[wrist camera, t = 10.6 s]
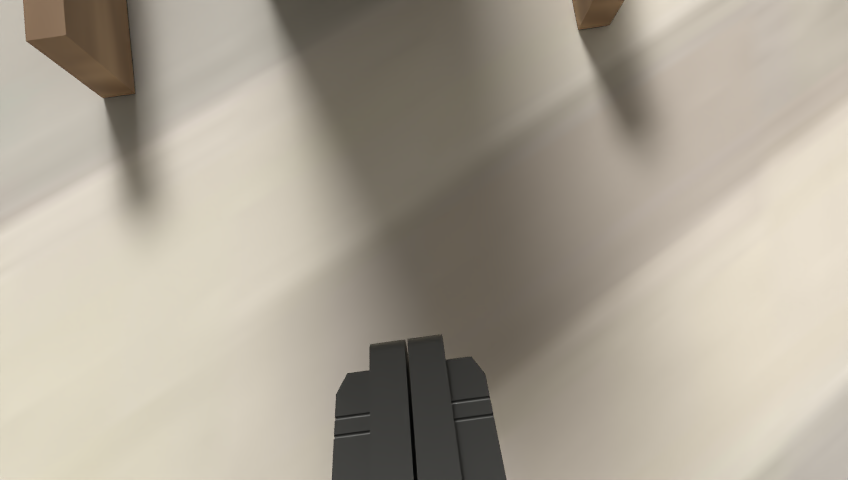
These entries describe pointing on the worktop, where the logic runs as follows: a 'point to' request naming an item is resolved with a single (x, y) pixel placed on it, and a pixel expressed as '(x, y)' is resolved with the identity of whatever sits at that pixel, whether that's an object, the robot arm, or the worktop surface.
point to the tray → (110, 39)
